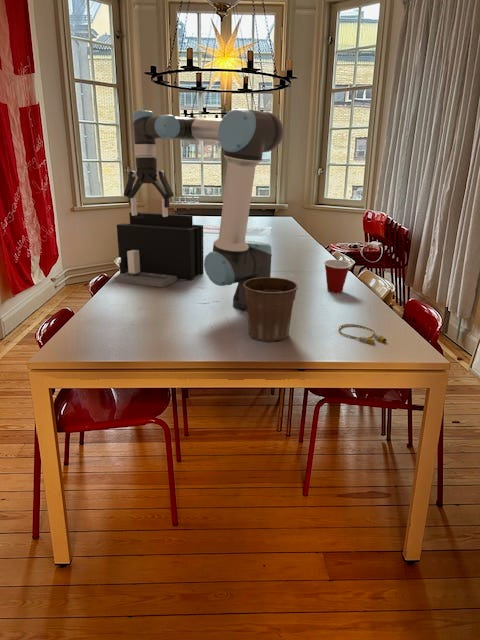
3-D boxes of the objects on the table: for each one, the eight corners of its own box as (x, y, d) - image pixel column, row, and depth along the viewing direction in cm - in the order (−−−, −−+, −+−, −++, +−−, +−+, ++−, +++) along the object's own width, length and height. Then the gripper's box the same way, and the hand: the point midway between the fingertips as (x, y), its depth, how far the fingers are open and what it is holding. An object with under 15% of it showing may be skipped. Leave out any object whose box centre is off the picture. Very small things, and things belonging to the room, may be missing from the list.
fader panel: (163, 287, 190) (162, 282, 189) (115, 281, 197) (114, 276, 196) (176, 280, 200) (176, 275, 199) (130, 275, 207) (130, 270, 207)
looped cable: (347, 346, 136) (348, 339, 135) (333, 327, 150) (334, 321, 150) (387, 345, 137) (388, 339, 136) (370, 327, 151) (370, 321, 151)
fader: (133, 275, 197) (132, 252, 194) (127, 274, 198) (126, 251, 195) (140, 272, 202) (139, 250, 199) (135, 272, 203) (133, 249, 200)
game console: (120, 273, 210) (115, 213, 201) (151, 260, 238) (148, 206, 229) (191, 280, 201) (190, 218, 192) (215, 266, 228) (215, 210, 219)
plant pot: (290, 348, 132) (293, 294, 127) (235, 341, 136) (236, 288, 131) (298, 328, 147) (302, 279, 142) (249, 323, 151) (251, 275, 146)
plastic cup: (328, 295, 182) (331, 266, 178) (317, 288, 192) (319, 260, 188) (353, 294, 185) (356, 264, 181) (340, 287, 195) (343, 259, 191)
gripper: (181, 156, 169) (183, 216, 176) (123, 157, 177) (127, 213, 184) (171, 156, 162) (173, 218, 169) (111, 157, 171) (116, 215, 178)
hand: (149, 216), depth 177 cm, fingers open, 13 cm apart
